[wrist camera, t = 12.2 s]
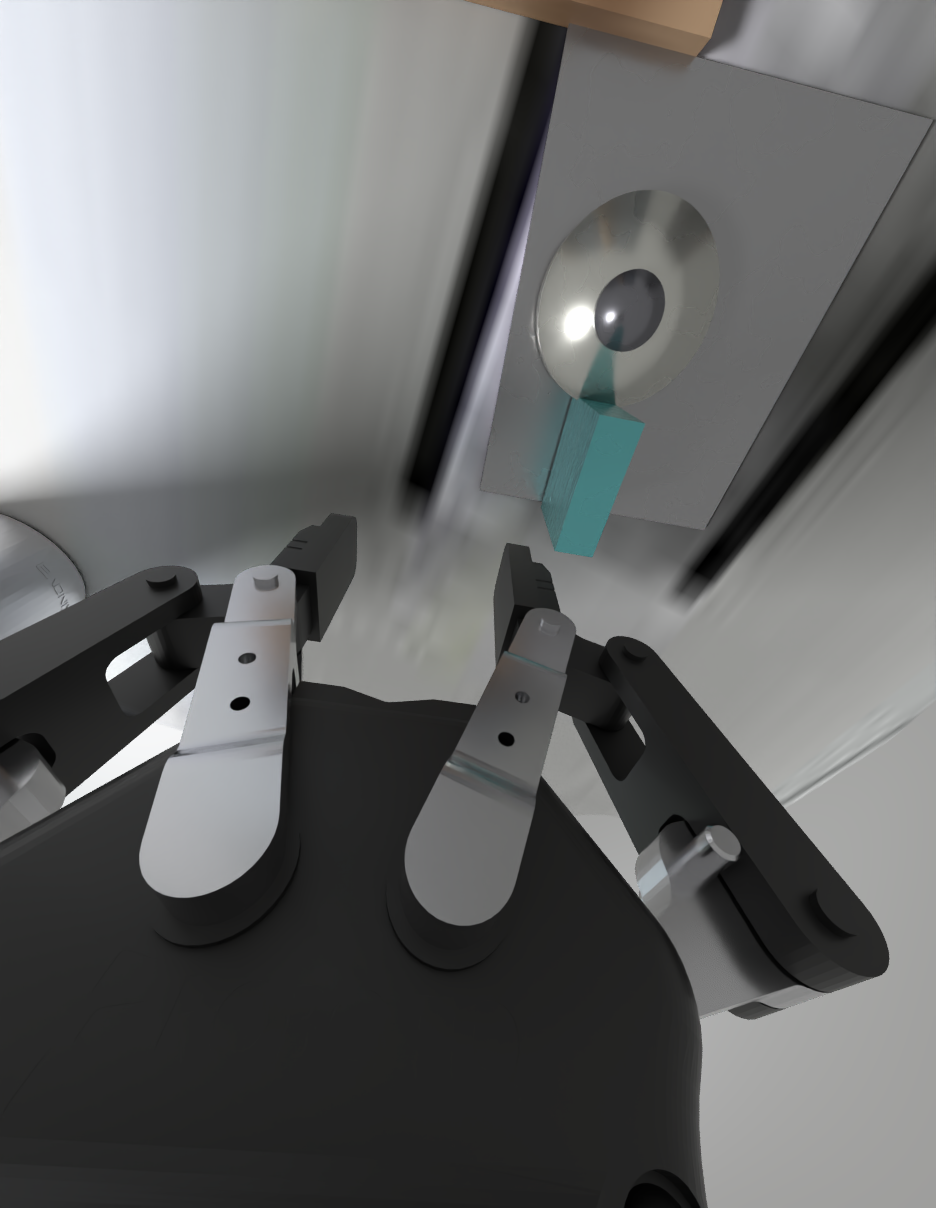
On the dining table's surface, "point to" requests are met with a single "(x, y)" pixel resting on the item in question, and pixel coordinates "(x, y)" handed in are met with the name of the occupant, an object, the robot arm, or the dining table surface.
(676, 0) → the peg rack
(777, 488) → the dining table surface
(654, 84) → the gray base plate
